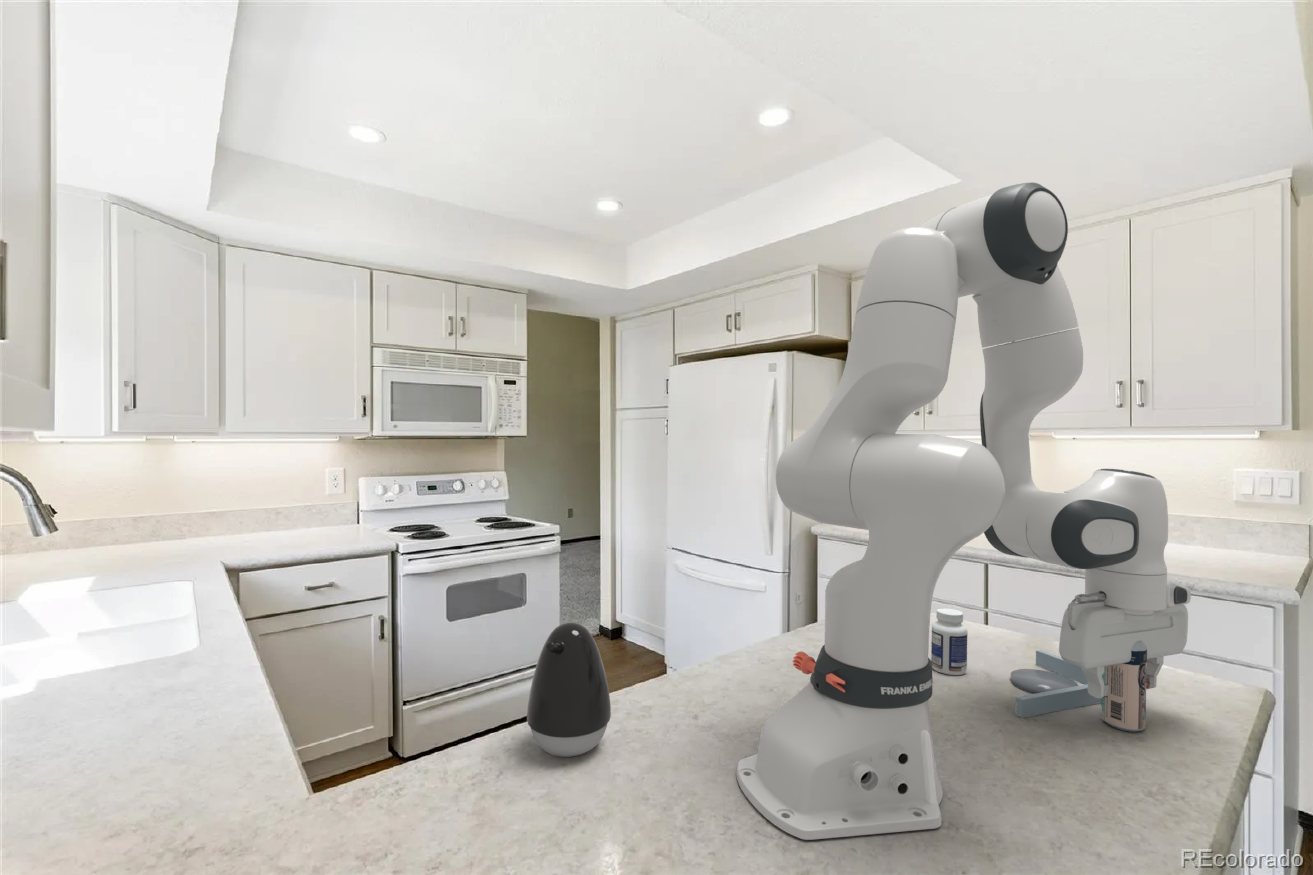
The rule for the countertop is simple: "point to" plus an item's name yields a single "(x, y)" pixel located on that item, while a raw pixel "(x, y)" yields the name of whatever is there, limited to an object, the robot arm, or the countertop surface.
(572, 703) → the black egg-shaped tumbler
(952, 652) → the pill bottle
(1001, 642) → the countertop surface
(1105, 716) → the beer can
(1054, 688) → the coaster
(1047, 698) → the divider wall
